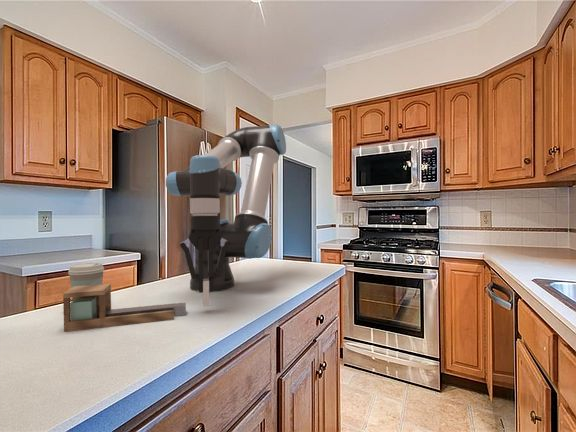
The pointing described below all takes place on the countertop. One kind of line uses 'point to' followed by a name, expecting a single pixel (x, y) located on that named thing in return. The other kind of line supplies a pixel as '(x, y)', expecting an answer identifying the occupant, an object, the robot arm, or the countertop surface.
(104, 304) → the track
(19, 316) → the countertop surface
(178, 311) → the bar
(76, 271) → the coffee cup
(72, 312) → the block
